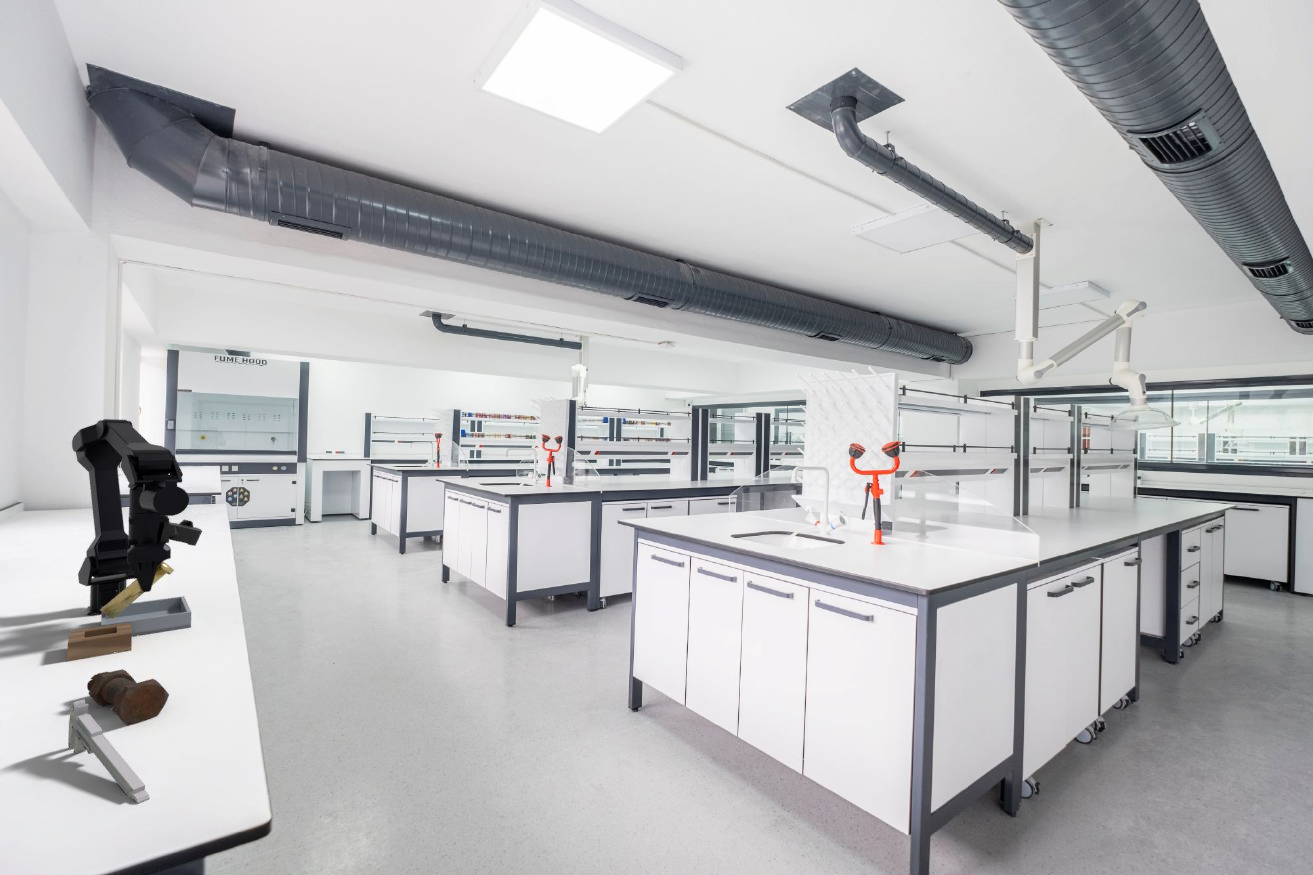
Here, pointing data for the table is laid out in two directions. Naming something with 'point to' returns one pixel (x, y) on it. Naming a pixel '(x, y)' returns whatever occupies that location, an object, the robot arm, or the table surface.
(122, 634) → the block
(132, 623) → the tray
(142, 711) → the bolt
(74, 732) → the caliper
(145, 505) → the robot arm
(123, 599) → the pin
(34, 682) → the table surface
